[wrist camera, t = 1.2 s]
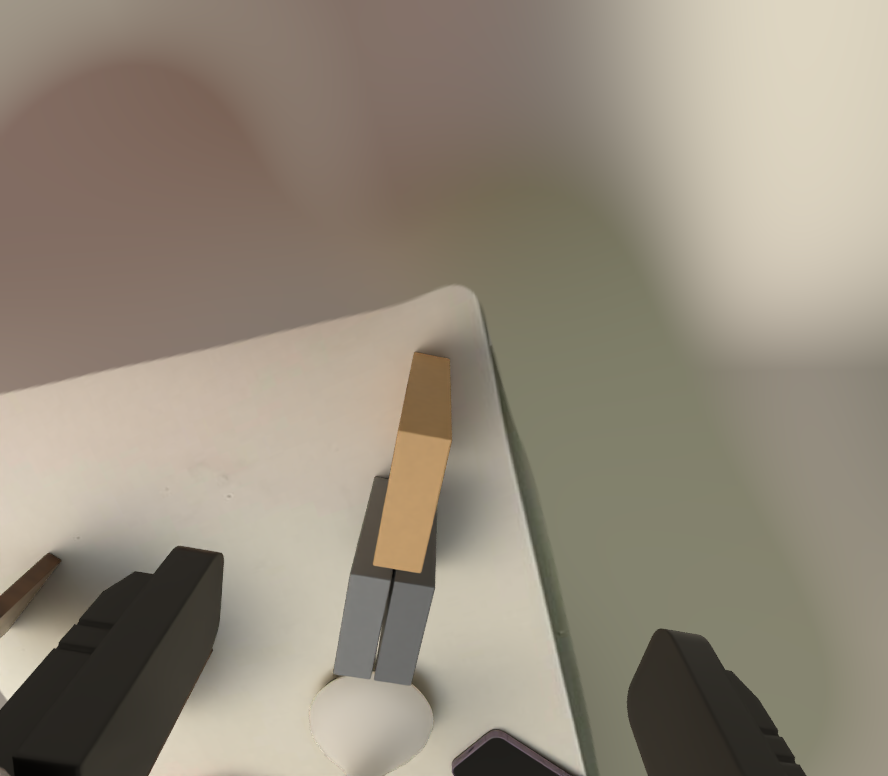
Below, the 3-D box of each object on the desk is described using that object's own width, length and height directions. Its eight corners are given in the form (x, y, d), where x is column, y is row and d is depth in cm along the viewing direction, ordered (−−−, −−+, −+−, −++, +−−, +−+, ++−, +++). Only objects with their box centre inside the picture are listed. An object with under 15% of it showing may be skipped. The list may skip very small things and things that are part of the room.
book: (395, 450, 39) (372, 566, 27) (414, 351, 36) (397, 430, 24) (428, 456, 39) (421, 574, 27) (450, 358, 36) (452, 440, 24)
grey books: (360, 558, 42) (332, 674, 32) (374, 475, 40) (349, 573, 29) (419, 568, 43) (410, 686, 32) (437, 487, 40) (435, 588, 30)
